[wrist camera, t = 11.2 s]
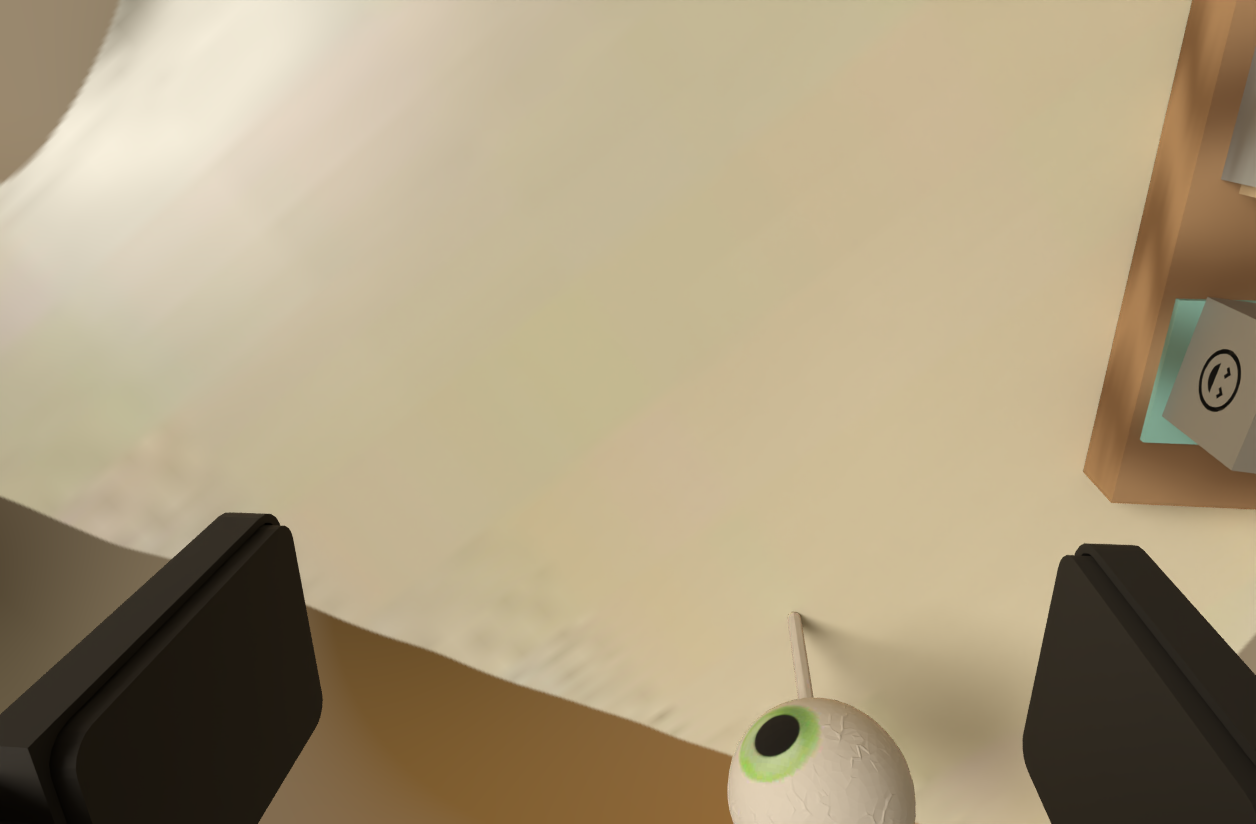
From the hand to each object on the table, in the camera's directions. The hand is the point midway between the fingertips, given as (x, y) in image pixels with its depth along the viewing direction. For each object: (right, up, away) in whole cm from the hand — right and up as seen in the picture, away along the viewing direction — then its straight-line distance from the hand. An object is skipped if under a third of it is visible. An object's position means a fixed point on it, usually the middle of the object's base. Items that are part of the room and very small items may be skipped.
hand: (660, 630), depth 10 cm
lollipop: (+8, -8, +33) cm, 35 cm away
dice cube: (+24, +5, +23) cm, 34 cm away
